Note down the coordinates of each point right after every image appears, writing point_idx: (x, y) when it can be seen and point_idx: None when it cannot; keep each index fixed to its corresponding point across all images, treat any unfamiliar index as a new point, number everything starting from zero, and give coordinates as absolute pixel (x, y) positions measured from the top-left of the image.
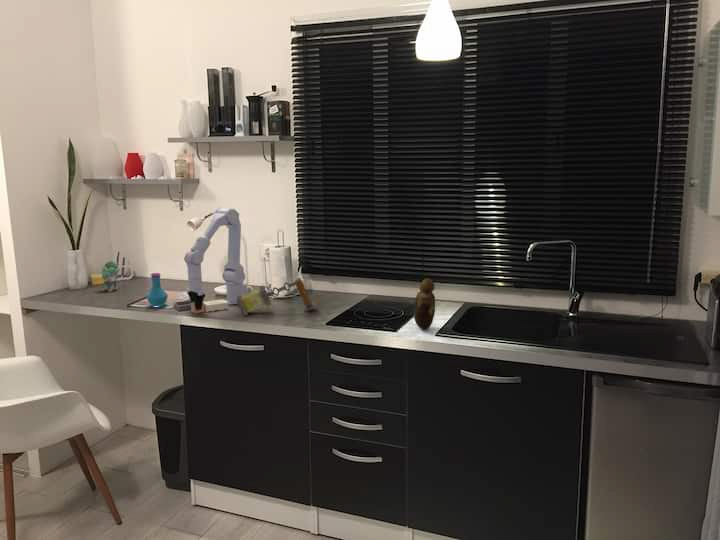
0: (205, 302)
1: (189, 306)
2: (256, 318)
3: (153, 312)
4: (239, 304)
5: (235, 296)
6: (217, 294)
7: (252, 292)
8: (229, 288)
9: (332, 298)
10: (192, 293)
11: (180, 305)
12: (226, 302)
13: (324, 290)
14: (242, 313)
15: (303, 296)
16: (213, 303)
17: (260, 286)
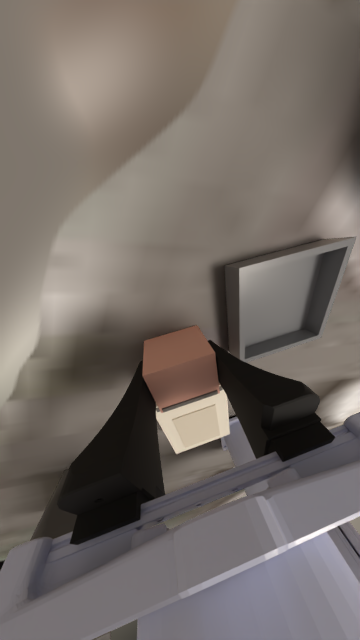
0: (212, 398)
1: (235, 324)
2: (31, 494)
3: (288, 11)
4: (34, 536)
5: (233, 458)
6: (348, 380)
7: None
8: (263, 490)
9: (183, 513)
10: (254, 421)
11: (306, 277)
12: (177, 451)
13: (237, 495)
14: (59, 481)
15: None
16: (175, 426)
17: (107, 637)
